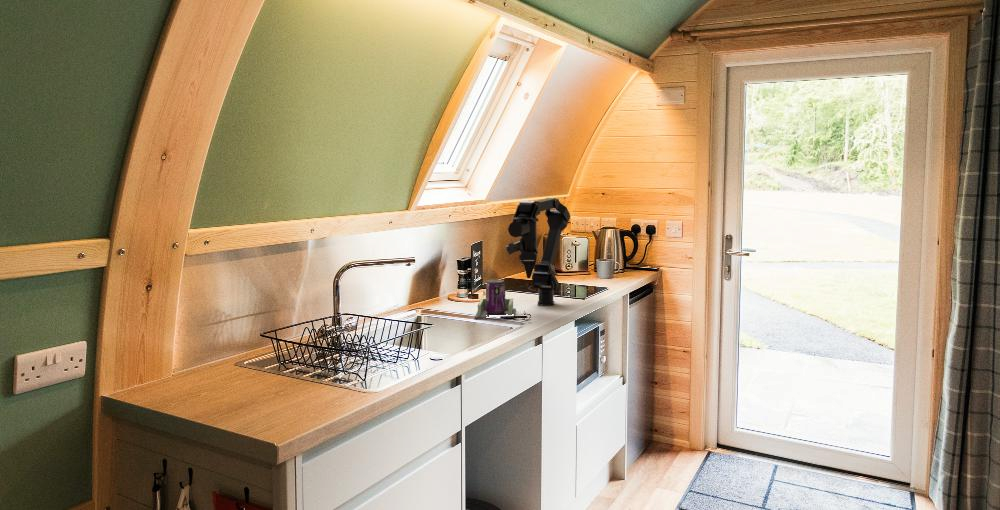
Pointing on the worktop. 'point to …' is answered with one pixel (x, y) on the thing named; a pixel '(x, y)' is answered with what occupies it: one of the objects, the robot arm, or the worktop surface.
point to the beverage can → (495, 296)
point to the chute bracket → (482, 314)
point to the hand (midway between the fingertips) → (529, 276)
